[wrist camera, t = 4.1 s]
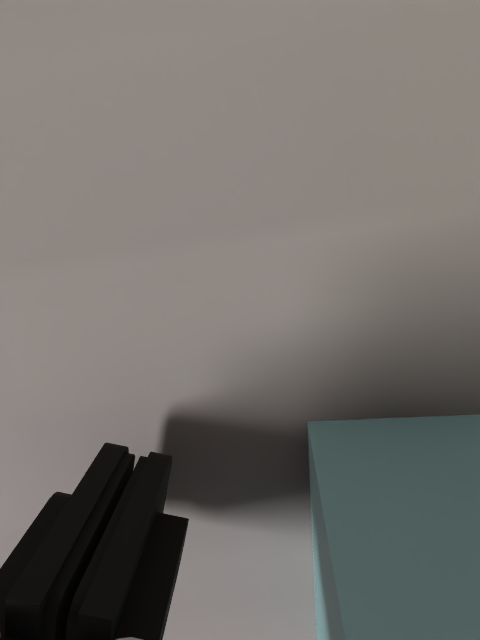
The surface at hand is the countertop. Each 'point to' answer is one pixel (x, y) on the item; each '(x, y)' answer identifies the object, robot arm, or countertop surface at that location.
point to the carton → (396, 527)
